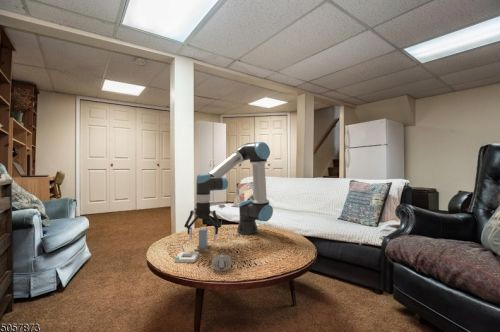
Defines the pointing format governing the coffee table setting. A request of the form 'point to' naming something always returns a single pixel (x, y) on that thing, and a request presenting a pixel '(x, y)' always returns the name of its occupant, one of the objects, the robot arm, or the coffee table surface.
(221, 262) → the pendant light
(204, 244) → the plug
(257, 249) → the coffee table surface
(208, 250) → the wooden rail base
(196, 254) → the port
